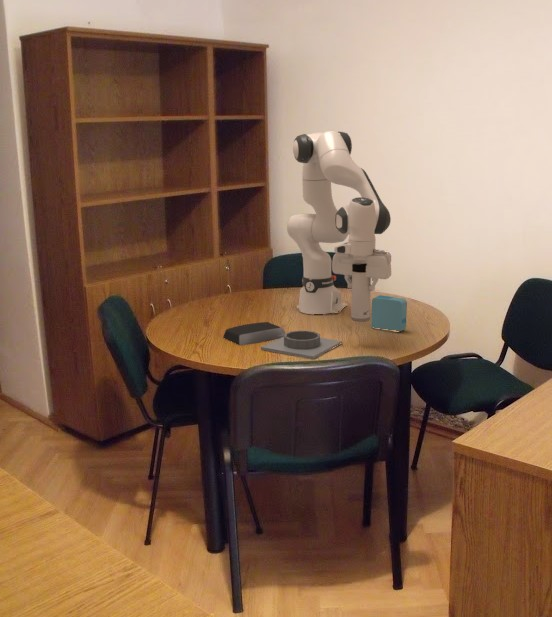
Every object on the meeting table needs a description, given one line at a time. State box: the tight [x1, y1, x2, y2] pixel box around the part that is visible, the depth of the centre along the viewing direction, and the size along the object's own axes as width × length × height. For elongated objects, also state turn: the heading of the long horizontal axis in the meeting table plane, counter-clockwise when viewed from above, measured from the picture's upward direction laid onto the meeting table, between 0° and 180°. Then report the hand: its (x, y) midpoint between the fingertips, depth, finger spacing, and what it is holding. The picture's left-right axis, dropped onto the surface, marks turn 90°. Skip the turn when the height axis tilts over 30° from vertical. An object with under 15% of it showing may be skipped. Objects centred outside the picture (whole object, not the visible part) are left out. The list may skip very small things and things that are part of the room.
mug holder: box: [260, 330, 343, 360], centre depth 242 cm, size 20×20×4 cm
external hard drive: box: [222, 321, 286, 347], centre depth 254 cm, size 13×19×4 cm
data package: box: [370, 295, 408, 332], centre depth 262 cm, size 12×4×12 cm, turn 56°
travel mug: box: [350, 263, 372, 323], centre depth 239 cm, size 6×7×20 cm
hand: (361, 289), depth 239 cm, fingers closed on travel mug, 6 cm apart
